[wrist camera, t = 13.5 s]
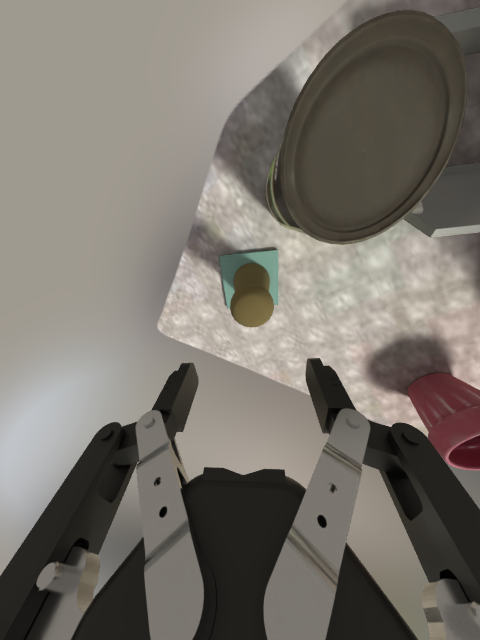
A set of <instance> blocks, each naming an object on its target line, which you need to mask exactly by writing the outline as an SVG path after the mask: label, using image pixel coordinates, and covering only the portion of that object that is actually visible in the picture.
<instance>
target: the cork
mask: <svg viewBox="0 0 480 640" xmlns="http://www.w3.org/2000/svg"><path fill="white" fill-rule="evenodd" d="M233 283H234V291H235V293H234V294H233V296H232V298H231V302H230V310H231V314H232V316H233V317H234V319H235V320H236V321H237V322H238V323H239V324H241V325H243V326H246V327H258V326H260V325H263V324H264V323H266V322H267V321H268V320H269V319H270V317H271V316H272V313H273V309H274V302H273V298H272V296H271V294H270V293H269V287H270V276H269V274H268V271H267V270H266V269H265V268H264V267H263V266H261V265H259V264H257V263H248V264H244V265H243V266H241V267H240V268H239V269H238V270H237V271H236V273H235V275H234V280H233Z"/></svg>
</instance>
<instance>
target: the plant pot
mask: <svg viewBox="0 0 480 640" xmlns="http://www.w3.org/2000/svg"><path fill="white" fill-rule="evenodd" d="M407 393H408V396H409V398H410V399H411V401H412V403H413V405H414V407H415V409H416V411H417V413H418V414H419V416H420V418H421V420H422V421H423V423H424V425H425V426H426V428H427V430H428V431H429V434H428V439H429V441H430V442H431V443H432V445H433V446H434V447H435V449H436V450H437V452H438V453H439V454H440V455H441V456H442V457H443V459H444V460H445V461H446V462H447V463H448V464H450V465H451V466H454V467H456V468H461V469H467V470H480V390H478V389H476V388H474V387H472V386H471V385H469V384H467V383H465V382H463V381H461V380H459V379H457V378H455V377H453V376H452V375H449V374H446V373H433V374H428V375H425V376H423V377H420V378H418V379H417V380H415V381H414V382H413V383H412V384H411V385H410V386H409V388H408V390H407Z"/></svg>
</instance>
